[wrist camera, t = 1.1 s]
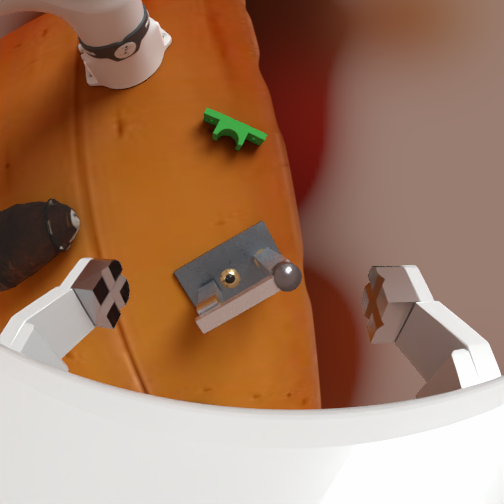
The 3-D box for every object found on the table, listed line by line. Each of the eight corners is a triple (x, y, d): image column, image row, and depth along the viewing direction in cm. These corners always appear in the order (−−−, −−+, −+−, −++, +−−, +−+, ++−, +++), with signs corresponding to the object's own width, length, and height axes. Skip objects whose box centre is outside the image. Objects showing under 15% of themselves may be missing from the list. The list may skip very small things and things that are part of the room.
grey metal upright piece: (195, 286, 49) (191, 317, 34) (268, 244, 50) (294, 258, 35) (206, 303, 49) (207, 339, 35) (277, 262, 50) (306, 282, 36)
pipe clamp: (197, 133, 46) (196, 126, 42) (206, 116, 46) (206, 107, 42) (253, 158, 48) (258, 153, 44) (262, 141, 48) (267, 134, 44)
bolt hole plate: (174, 271, 49) (173, 272, 48) (261, 220, 50) (263, 220, 49) (208, 325, 51) (208, 327, 50) (291, 277, 52) (293, 278, 51)
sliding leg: (198, 287, 48) (196, 311, 36) (213, 278, 49) (216, 299, 36) (207, 302, 49) (208, 330, 37) (222, 293, 49) (228, 319, 37)
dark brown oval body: (76, 259, 34) (-31, 300, 27) (99, 261, 49) (7, 293, 41) (60, 166, 34) (-44, 218, 26) (84, 190, 48) (-6, 228, 41)
